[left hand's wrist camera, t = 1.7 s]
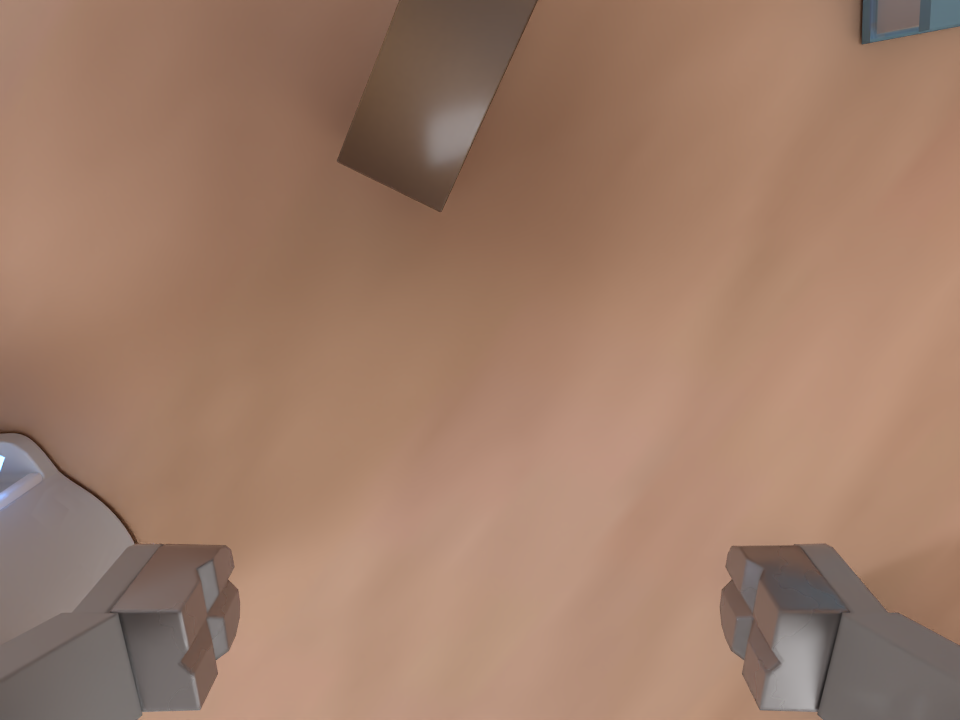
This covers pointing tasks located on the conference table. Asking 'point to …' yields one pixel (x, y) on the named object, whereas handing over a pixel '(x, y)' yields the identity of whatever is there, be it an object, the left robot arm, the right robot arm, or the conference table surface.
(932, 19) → the book
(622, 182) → the conference table surface
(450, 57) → the bar
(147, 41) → the conference table surface
